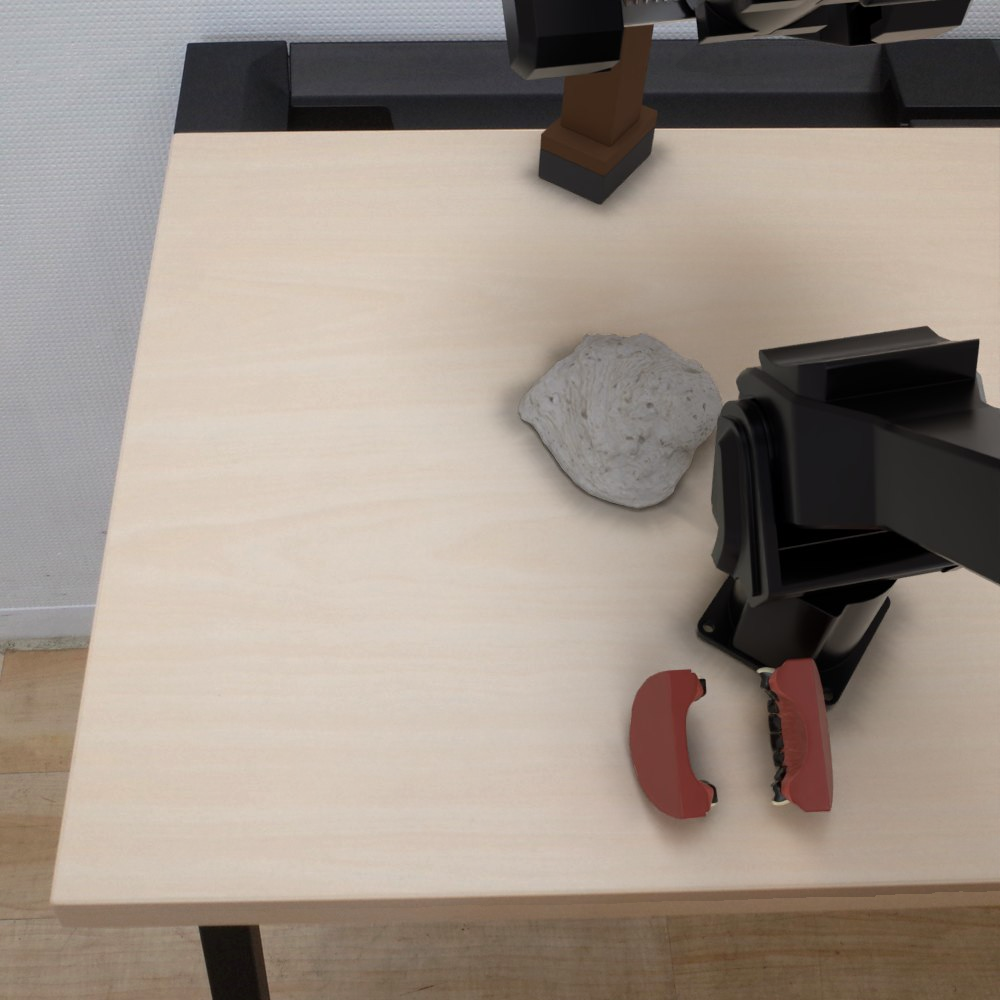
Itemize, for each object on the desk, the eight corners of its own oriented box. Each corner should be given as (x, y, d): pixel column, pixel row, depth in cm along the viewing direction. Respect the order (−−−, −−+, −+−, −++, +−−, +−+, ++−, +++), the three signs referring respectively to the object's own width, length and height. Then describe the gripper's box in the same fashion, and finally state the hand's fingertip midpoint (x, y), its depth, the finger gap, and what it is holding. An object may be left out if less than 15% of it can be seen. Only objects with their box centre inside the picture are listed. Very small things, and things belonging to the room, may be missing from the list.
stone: (528, 302, 55) (729, 298, 53) (544, 368, 59) (732, 368, 56) (487, 447, 49) (710, 452, 47) (507, 511, 53) (716, 519, 50)
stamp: (600, 205, 64) (628, -10, 53) (537, 176, 65) (552, -38, 55) (651, 153, 67) (686, -59, 56) (590, 127, 68) (613, -85, 58)
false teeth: (632, 811, 44) (830, 796, 44) (646, 826, 40) (865, 810, 40) (620, 670, 45) (814, 655, 45) (632, 671, 40) (847, 655, 41)
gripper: (1071, -390, 36) (841, -173, 51) (514, -368, 33) (447, -145, 48) (1085, -28, 37) (859, 77, 53) (560, 22, 35) (482, 118, 50)
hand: (669, 28), depth 51 cm, fingers open, 9 cm apart
